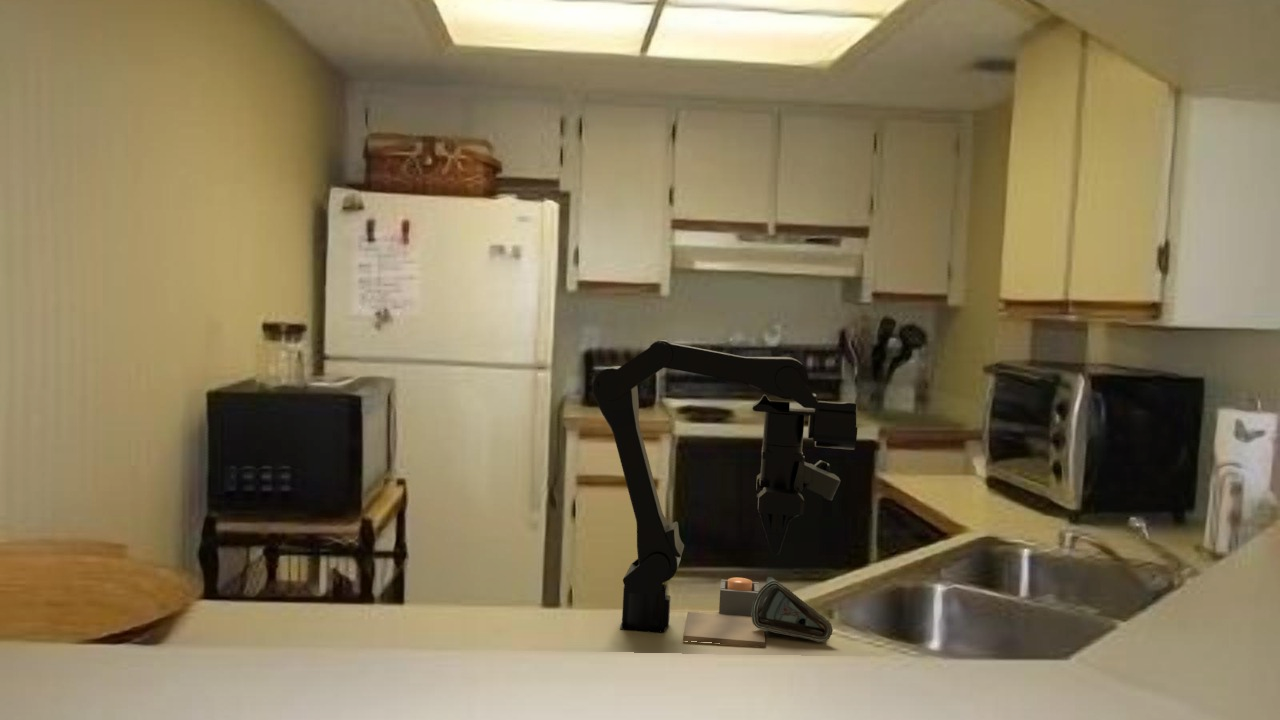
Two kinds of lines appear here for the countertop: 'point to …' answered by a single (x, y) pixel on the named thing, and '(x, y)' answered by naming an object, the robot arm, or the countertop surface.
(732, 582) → the brown egg
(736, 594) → the housing
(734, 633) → the serving board
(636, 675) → the countertop surface
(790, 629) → the chocolate cake
